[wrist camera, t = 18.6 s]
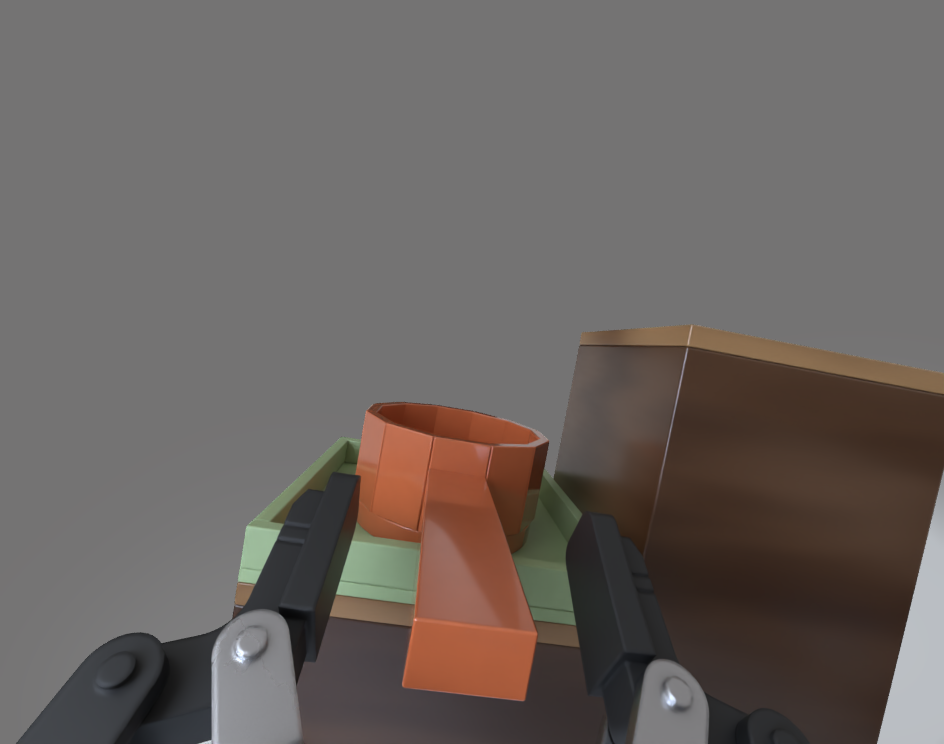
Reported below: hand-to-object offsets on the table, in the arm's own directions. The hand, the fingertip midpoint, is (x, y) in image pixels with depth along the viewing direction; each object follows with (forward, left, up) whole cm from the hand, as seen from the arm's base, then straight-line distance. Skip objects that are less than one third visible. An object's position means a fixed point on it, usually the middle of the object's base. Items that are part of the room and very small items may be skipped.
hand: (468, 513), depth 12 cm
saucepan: (-1, -5, -4) cm, 7 cm away
